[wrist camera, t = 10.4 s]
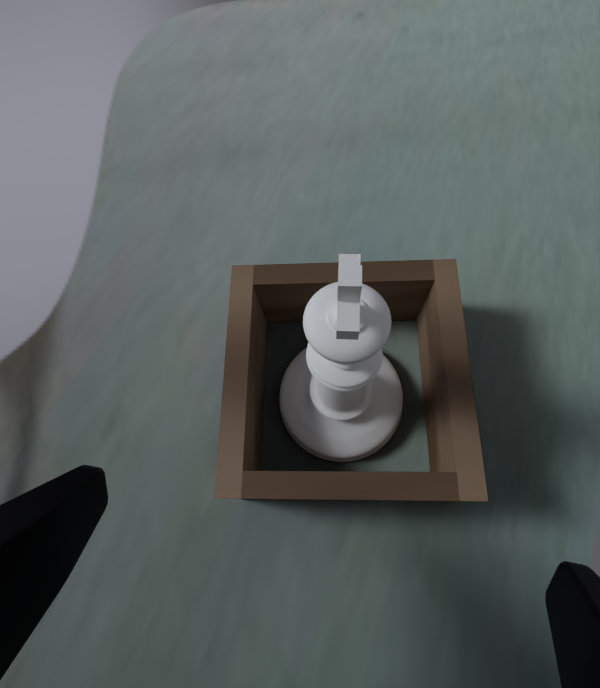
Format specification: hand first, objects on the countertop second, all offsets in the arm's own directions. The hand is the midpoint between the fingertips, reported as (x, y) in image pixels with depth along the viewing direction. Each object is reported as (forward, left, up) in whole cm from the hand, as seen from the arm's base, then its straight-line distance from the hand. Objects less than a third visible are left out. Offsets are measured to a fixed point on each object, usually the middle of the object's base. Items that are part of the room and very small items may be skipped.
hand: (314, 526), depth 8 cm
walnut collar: (+5, -1, -8) cm, 9 cm away
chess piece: (+4, -1, -8) cm, 9 cm away
